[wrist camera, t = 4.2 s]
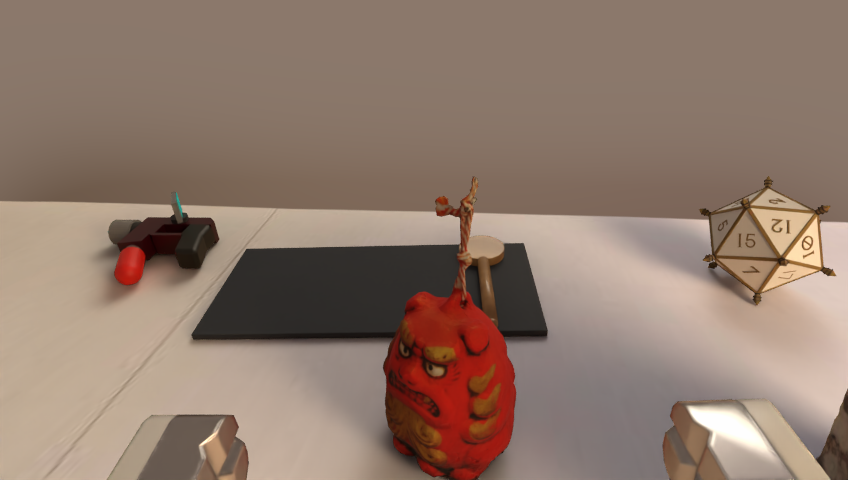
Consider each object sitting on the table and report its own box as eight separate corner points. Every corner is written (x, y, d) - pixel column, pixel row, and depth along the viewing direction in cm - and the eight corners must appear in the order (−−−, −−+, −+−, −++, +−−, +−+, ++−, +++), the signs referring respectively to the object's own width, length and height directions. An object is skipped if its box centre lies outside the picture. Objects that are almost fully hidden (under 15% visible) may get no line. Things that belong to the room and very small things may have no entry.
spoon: (520, 333, 35) (520, 322, 34) (463, 334, 35) (463, 323, 35) (501, 242, 46) (502, 233, 45) (458, 243, 46) (458, 233, 45)
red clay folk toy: (362, 436, 29) (325, 205, 21) (437, 366, 33) (429, 155, 26) (470, 517, 24) (472, 264, 17) (539, 423, 29) (566, 191, 21)
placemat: (192, 339, 37) (190, 334, 36) (247, 253, 47) (246, 248, 47) (547, 335, 35) (547, 330, 35) (523, 247, 46) (523, 243, 45)
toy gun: (121, 234, 51) (104, 191, 49) (232, 235, 50) (220, 191, 48) (53, 290, 43) (28, 242, 40) (184, 292, 42) (167, 243, 39)
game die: (719, 303, 43) (730, 192, 44) (844, 318, 37) (854, 186, 37) (671, 293, 38) (685, 166, 39) (808, 308, 31) (821, 153, 32)
